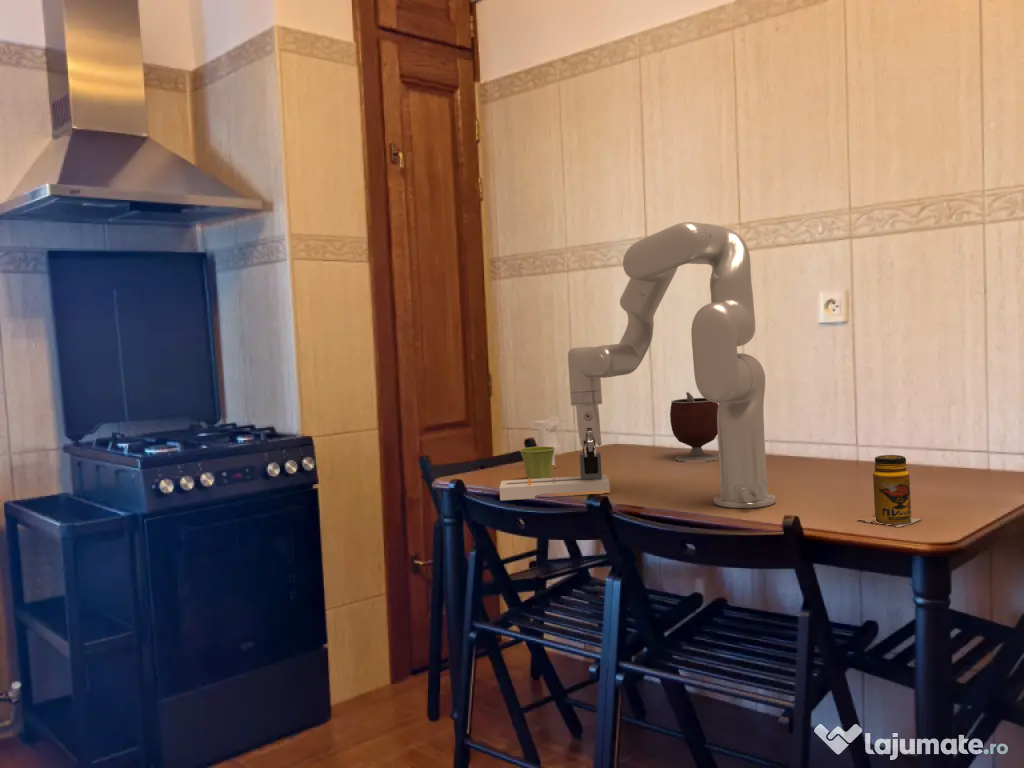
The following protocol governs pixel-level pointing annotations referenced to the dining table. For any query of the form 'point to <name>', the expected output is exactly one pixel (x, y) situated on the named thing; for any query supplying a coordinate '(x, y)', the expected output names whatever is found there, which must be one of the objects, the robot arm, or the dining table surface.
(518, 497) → the console
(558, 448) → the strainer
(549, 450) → the plant pot
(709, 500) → the dining table surface
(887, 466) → the condiment
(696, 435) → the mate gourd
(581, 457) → the fader
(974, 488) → the dining table surface
